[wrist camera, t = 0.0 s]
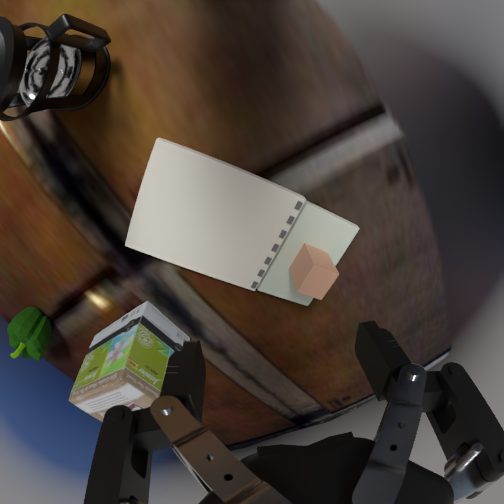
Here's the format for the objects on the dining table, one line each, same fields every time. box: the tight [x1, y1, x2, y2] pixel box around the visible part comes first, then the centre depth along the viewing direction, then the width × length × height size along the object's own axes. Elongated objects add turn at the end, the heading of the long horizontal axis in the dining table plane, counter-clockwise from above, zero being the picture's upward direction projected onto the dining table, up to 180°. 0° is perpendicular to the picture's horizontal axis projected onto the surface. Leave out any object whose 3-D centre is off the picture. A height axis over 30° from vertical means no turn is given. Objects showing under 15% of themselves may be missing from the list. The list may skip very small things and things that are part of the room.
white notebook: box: [125, 137, 306, 291], centre depth 33 cm, size 18×14×1 cm
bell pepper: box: [7, 306, 52, 361], centre depth 36 cm, size 8×8×10 cm
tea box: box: [69, 301, 190, 422], centre depth 37 cm, size 15×10×15 cm
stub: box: [257, 201, 360, 306], centre depth 35 cm, size 8×13×6 cm, turn 155°
